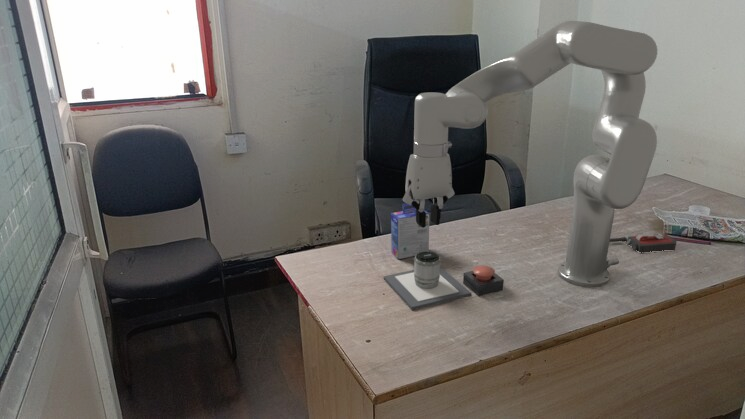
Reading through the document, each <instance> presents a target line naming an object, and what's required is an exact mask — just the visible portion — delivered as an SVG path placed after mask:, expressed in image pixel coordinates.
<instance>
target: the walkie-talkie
mask: <svg viewBox="0 0 745 419" xmlns="http://www.w3.org/2000/svg"><path fill="white" fill-rule="evenodd" d="M625 241H626V242H625ZM615 242H616V243H617V242H623V243H624V242H625V245H626V244H627V245H626V246H628V245H630V246H632V248H631V249H632V250H633V251H635V250H637V251H639V252H641V253H640V254H643V253H642V252H650V251H651V252H652V251H662V250H663V251H664V250H674V251H675V250H676V248H677V247H676V246H677V240H676V239H674V237H671V236H669V235H668V234H665V233H663V234H662V233H660V232H658V233H657V234H653V233H651V232H642V233H636V234H624V235H623V236H621V237H613V238H610V242H609V243H615ZM630 246H629V247H630ZM637 251H635V252H637ZM664 252H665V251H664Z"/></svg>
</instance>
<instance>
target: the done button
mask: <svg viewBox="0 0 745 419" xmlns="http://www.w3.org/2000/svg"><path fill="white" fill-rule="evenodd" d="M472 271H473V273H474V274H475V275H476V278H477V279H478V280H479V281H480V282H483V281H487V280H491V277H492V276H493V275H494V274H495V273H496V272H495V269H494V268H493V267H490V266H488V265H477V266H475V267H473V270H472Z"/></svg>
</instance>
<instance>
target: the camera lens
mask: <svg viewBox="0 0 745 419" xmlns="http://www.w3.org/2000/svg"><path fill="white" fill-rule="evenodd" d="M413 264H414V268H413V270H414V279H415V284H416V285H417V286H418V287H420V288H423V289H432V288H435V287H436V286H437V285H438V282H439V278H440V266H441V257H440V256H439V255H438V254H437V253H436V252H433V251H429V252H421V253H418V254H417V255H416V256H414V263H413Z"/></svg>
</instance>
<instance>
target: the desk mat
mask: <svg viewBox="0 0 745 419" xmlns="http://www.w3.org/2000/svg"><path fill="white" fill-rule="evenodd" d="M383 280H384V282H386V284H387V285H388V286H389V287H390V289H391V290H393V292H394V293H396V295H397V296H398V297H399V298H400V299H401V300H402V301H403V303H405V305H406V306H407V307H408V308H409V309H410V310H411V311H414V310H418V309H422V308H426V307H427V308H428V307H430V306H434V305H439V304H443V303H446V302H451V301H455V300H459V299H463V298H467V297H471V296H472V292H471V291H470V290H468V289H467V288H466V287H465V286H464V284H462V283H461V282H459V281H458V280H457V279H456V278H455V277H453V275H451V274H450V273H449V272H448V271H447V270H445V269H444V268H443V267H441V265H440V278H439V282H438V285H437V286H436V287H435V288H432V289H423V288H420V287H418V286H417V285H416V284H415V279H414V269H413V270H412V269H411V270H408V271H403V272H398V273H394V274H393V273H391V274H388V275H384V276H383Z"/></svg>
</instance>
